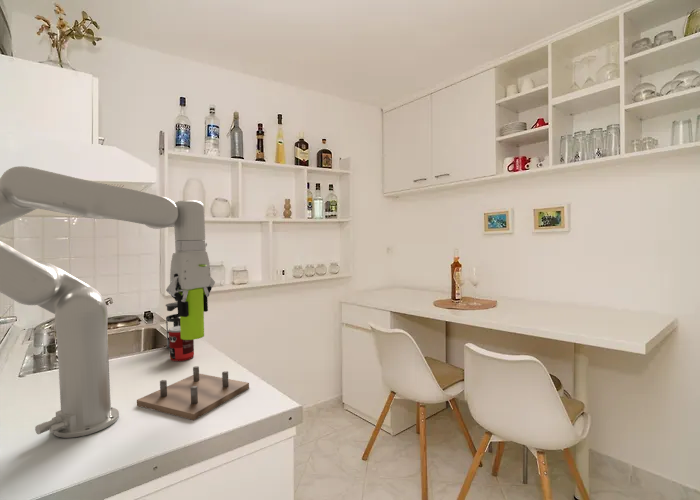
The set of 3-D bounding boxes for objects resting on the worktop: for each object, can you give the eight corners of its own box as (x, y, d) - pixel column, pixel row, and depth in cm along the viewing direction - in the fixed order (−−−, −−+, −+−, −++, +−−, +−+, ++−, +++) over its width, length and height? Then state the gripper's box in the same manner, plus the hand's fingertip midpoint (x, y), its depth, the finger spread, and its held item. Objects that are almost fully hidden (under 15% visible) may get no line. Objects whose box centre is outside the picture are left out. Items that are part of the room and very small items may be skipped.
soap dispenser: (201, 340, 98) (199, 264, 97) (176, 339, 99) (174, 264, 98) (211, 334, 104) (210, 262, 103) (187, 334, 104) (186, 262, 104)
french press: (195, 346, 148) (193, 288, 147) (169, 351, 142) (166, 291, 141) (188, 339, 157) (186, 285, 156) (163, 344, 152) (161, 288, 151)
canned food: (171, 356, 137) (170, 326, 136) (195, 353, 139) (194, 324, 138) (168, 362, 129) (166, 331, 129) (193, 360, 132) (191, 329, 131)
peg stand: (193, 420, 89) (192, 397, 88) (136, 405, 97) (135, 384, 97) (249, 387, 107) (248, 369, 106) (197, 377, 115) (196, 360, 115)
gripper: (204, 245, 109) (207, 306, 110) (152, 248, 94) (155, 319, 95) (224, 245, 106) (226, 308, 107) (173, 248, 91) (176, 322, 91)
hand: (193, 313), depth 101 cm, fingers closed on soap dispenser, 5 cm apart
